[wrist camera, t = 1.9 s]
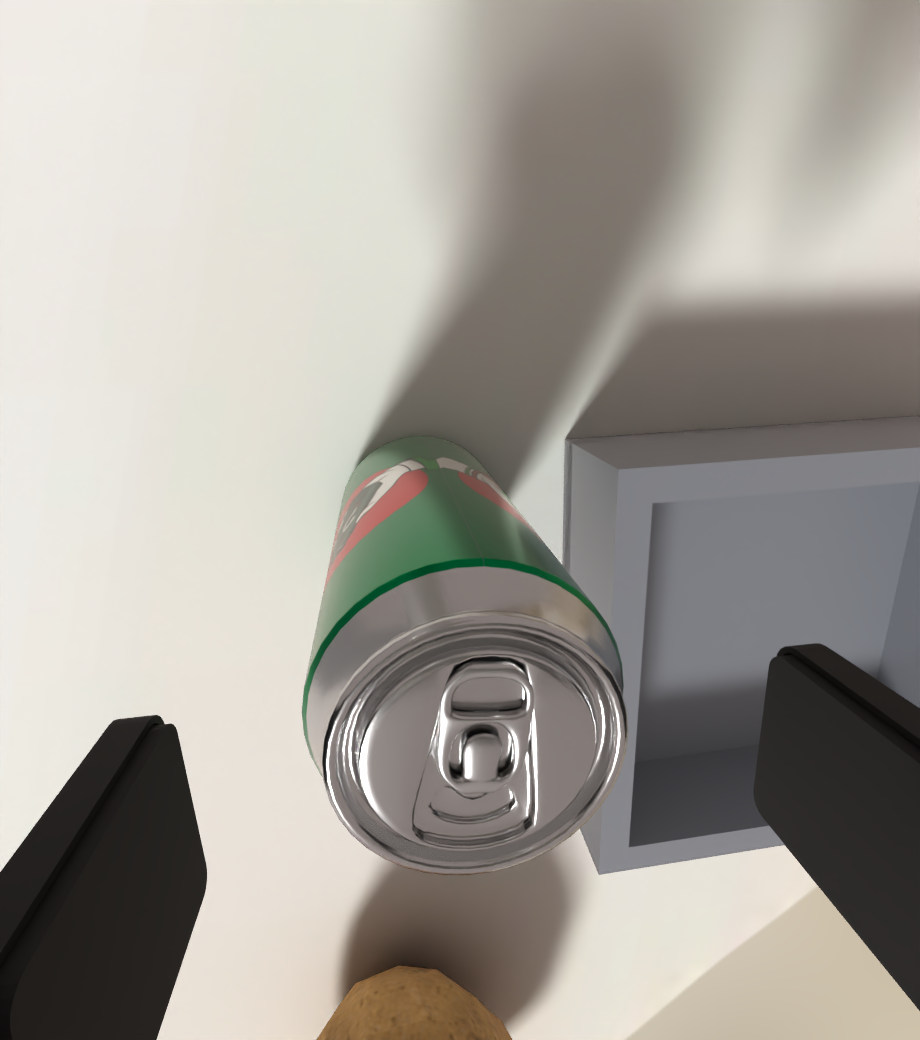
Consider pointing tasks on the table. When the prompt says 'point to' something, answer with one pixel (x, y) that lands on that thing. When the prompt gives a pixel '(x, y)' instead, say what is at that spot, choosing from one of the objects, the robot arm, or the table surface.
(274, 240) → the table surface
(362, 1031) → the potato
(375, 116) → the table surface
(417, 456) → the soda can
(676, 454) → the bin
